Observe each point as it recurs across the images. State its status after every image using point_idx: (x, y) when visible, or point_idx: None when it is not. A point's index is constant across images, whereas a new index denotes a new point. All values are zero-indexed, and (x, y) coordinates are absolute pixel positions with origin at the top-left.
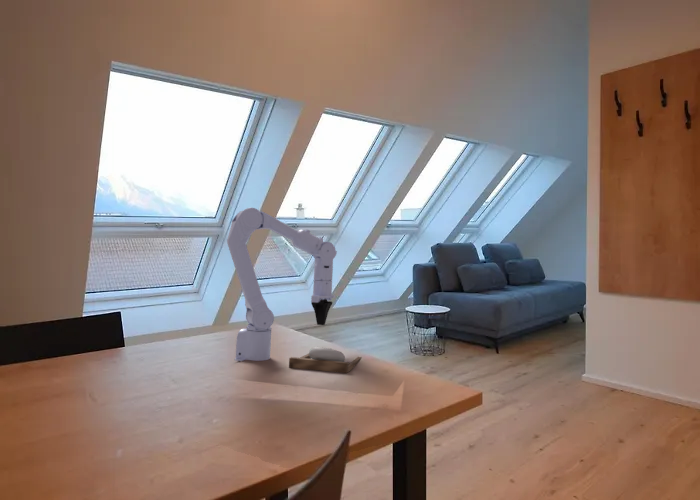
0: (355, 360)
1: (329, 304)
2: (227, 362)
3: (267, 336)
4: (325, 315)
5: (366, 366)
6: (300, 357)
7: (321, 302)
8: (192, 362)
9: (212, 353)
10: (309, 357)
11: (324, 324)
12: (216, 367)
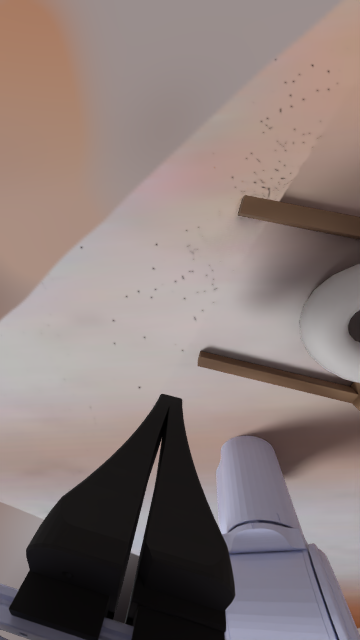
0: (328, 219)
1: (162, 537)
2: (300, 490)
3: (285, 506)
4: (180, 440)
5: (349, 174)
6: (286, 386)
7: (224, 629)
8: (304, 526)
9: (216, 509)
10: (246, 364)
11: (167, 396)
12: (351, 501)
